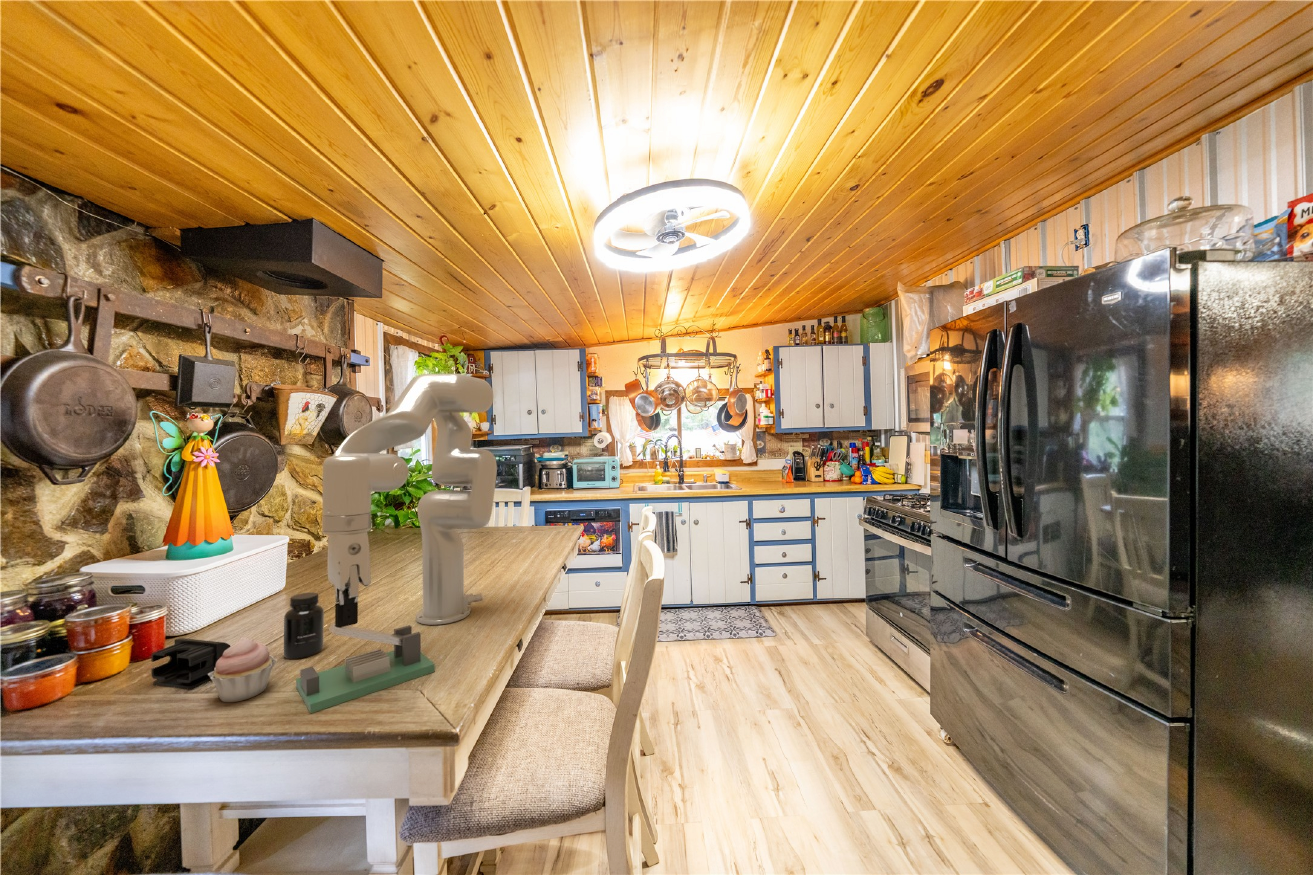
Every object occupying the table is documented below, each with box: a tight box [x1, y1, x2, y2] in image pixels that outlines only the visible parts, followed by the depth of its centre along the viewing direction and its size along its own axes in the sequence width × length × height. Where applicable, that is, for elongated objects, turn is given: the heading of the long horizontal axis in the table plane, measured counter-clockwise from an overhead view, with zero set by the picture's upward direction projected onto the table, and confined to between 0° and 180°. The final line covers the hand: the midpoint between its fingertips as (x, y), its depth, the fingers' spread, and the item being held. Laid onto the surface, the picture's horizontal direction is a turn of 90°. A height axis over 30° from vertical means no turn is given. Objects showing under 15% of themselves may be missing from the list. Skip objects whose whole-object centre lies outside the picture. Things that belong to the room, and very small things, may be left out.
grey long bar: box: [328, 622, 405, 646], centre depth 93 cm, size 15×3×2 cm, turn 136°
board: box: [295, 625, 436, 714], centre depth 93 cm, size 20×12×7 cm, turn 135°
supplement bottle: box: [283, 591, 325, 660], centre depth 104 cm, size 7×7×12 cm
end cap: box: [150, 637, 232, 691], centre depth 93 cm, size 10×7×7 cm
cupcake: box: [208, 636, 278, 703], centre depth 88 cm, size 9×9×10 cm
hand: (346, 624), depth 90 cm, fingers closed
